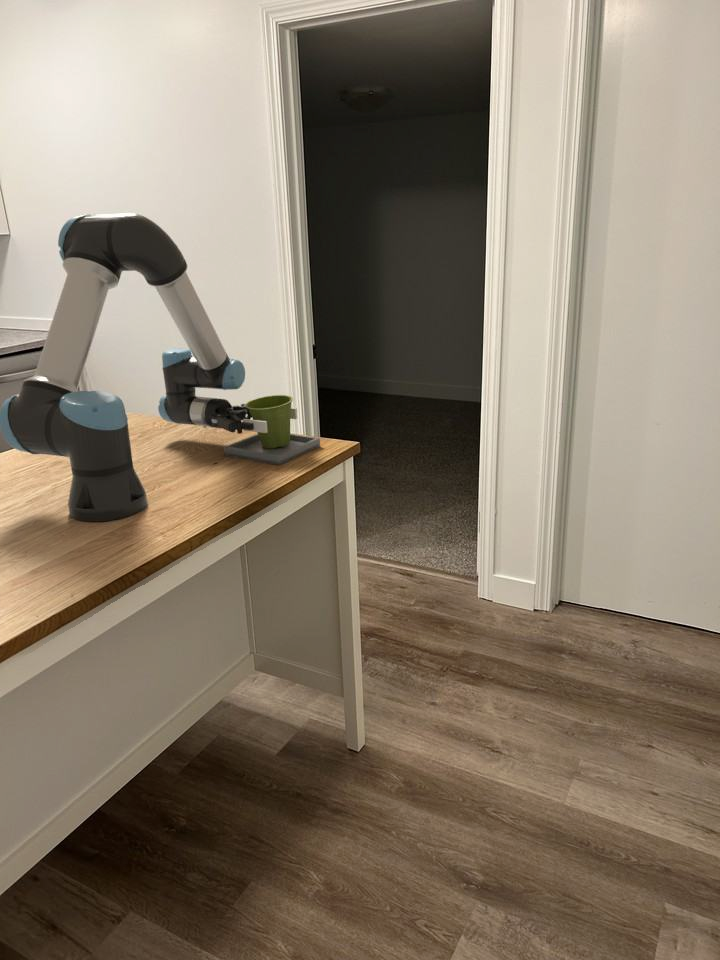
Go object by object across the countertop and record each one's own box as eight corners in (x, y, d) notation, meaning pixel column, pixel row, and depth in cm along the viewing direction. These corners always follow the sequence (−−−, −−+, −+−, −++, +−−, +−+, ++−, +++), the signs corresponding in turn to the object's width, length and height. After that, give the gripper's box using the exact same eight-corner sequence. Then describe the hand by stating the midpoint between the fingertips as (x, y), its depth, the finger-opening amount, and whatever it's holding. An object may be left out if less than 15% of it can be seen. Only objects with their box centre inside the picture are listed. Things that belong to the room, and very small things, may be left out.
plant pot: (302, 434, 187) (296, 392, 183) (295, 450, 176) (288, 406, 172) (257, 437, 189) (250, 396, 184) (248, 454, 178) (240, 410, 173)
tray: (320, 446, 183) (319, 438, 183) (279, 465, 170) (278, 456, 169) (267, 438, 192) (267, 430, 191) (224, 455, 178) (223, 447, 178)
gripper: (241, 415, 198) (308, 422, 188) (182, 439, 177) (253, 448, 168) (239, 388, 195) (307, 394, 186) (178, 409, 174) (251, 417, 165)
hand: (281, 420), depth 177 cm, fingers open, 13 cm apart
